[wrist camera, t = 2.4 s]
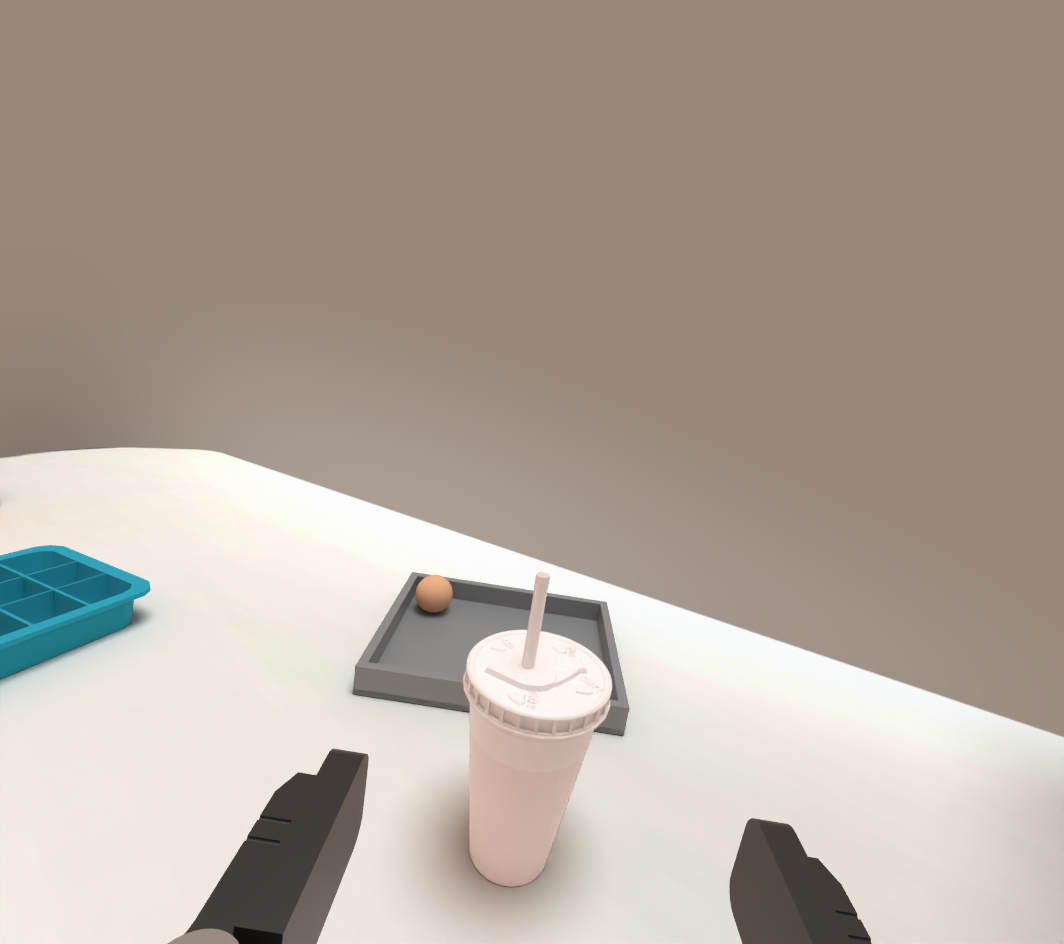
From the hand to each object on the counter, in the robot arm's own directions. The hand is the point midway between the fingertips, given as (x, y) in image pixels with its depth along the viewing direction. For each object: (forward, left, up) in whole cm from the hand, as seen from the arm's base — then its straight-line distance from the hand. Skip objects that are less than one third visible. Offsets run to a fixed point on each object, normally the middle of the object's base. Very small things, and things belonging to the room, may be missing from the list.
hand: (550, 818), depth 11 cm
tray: (+2, -27, -14) cm, 31 cm away
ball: (+8, -31, -13) cm, 35 cm away
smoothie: (0, -11, -14) cm, 18 cm away
